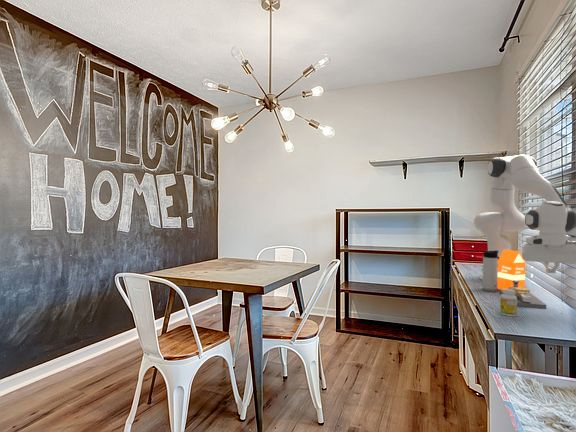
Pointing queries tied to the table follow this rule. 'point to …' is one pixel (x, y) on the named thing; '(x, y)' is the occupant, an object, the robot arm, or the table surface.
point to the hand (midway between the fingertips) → (550, 273)
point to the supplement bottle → (508, 303)
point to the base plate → (534, 302)
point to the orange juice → (511, 269)
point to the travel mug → (490, 270)
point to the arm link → (521, 293)
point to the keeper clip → (519, 289)
